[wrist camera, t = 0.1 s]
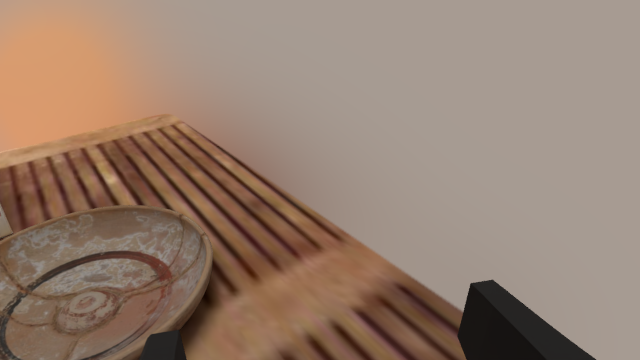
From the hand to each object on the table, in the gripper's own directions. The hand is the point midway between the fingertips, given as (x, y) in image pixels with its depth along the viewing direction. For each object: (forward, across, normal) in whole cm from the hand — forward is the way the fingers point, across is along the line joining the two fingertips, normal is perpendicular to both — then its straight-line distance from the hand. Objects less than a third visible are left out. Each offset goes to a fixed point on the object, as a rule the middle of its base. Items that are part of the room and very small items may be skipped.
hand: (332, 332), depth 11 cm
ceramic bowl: (+25, +17, +24) cm, 39 cm away
